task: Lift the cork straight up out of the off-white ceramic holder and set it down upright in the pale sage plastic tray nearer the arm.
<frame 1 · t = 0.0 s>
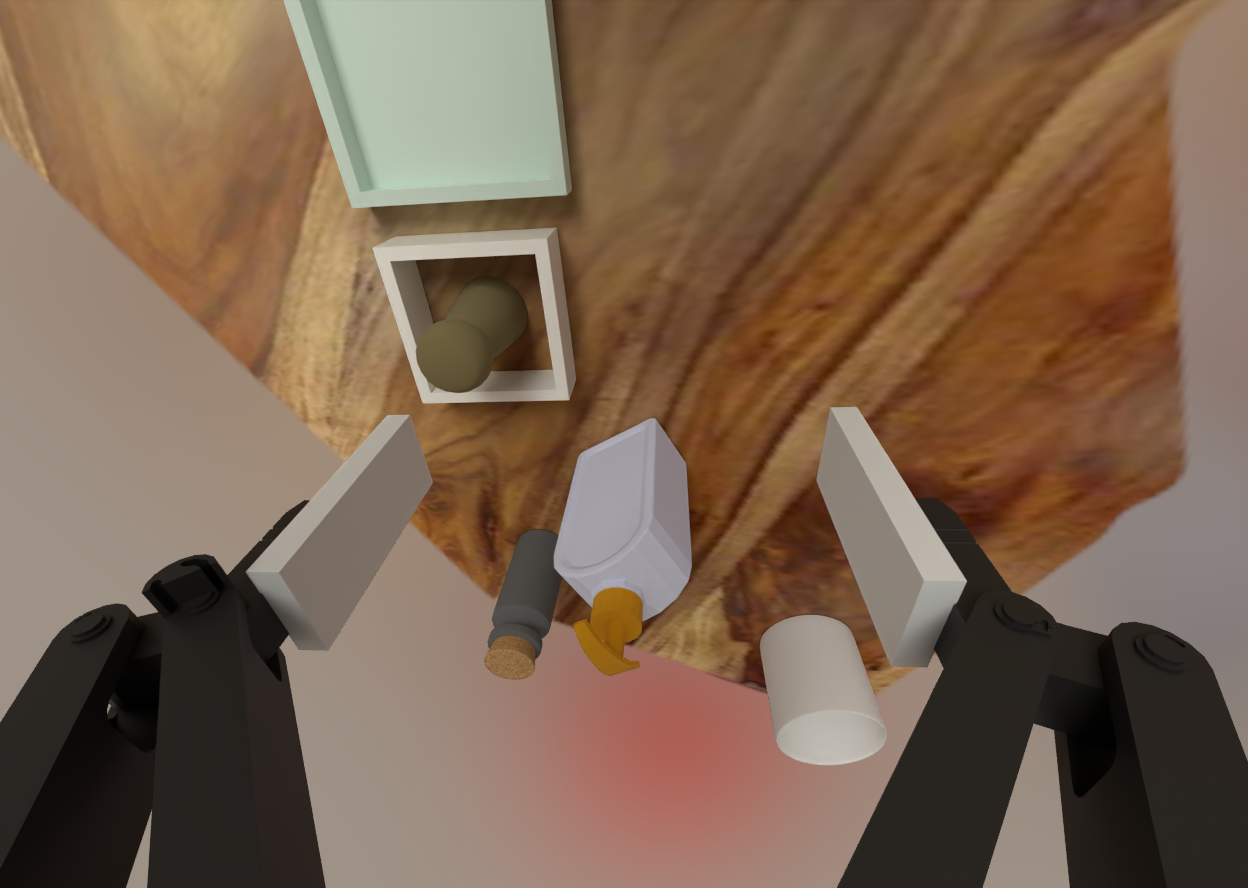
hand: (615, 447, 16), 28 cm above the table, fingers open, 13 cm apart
tray: (440, 65, 34), on the table
holder: (492, 312, 43), on the table
cork: (493, 311, 43), resting in holder
bottle: (542, 545, 59), on the table
soap bottle: (630, 453, 51), on the table
cup: (805, 641, 65), on the table
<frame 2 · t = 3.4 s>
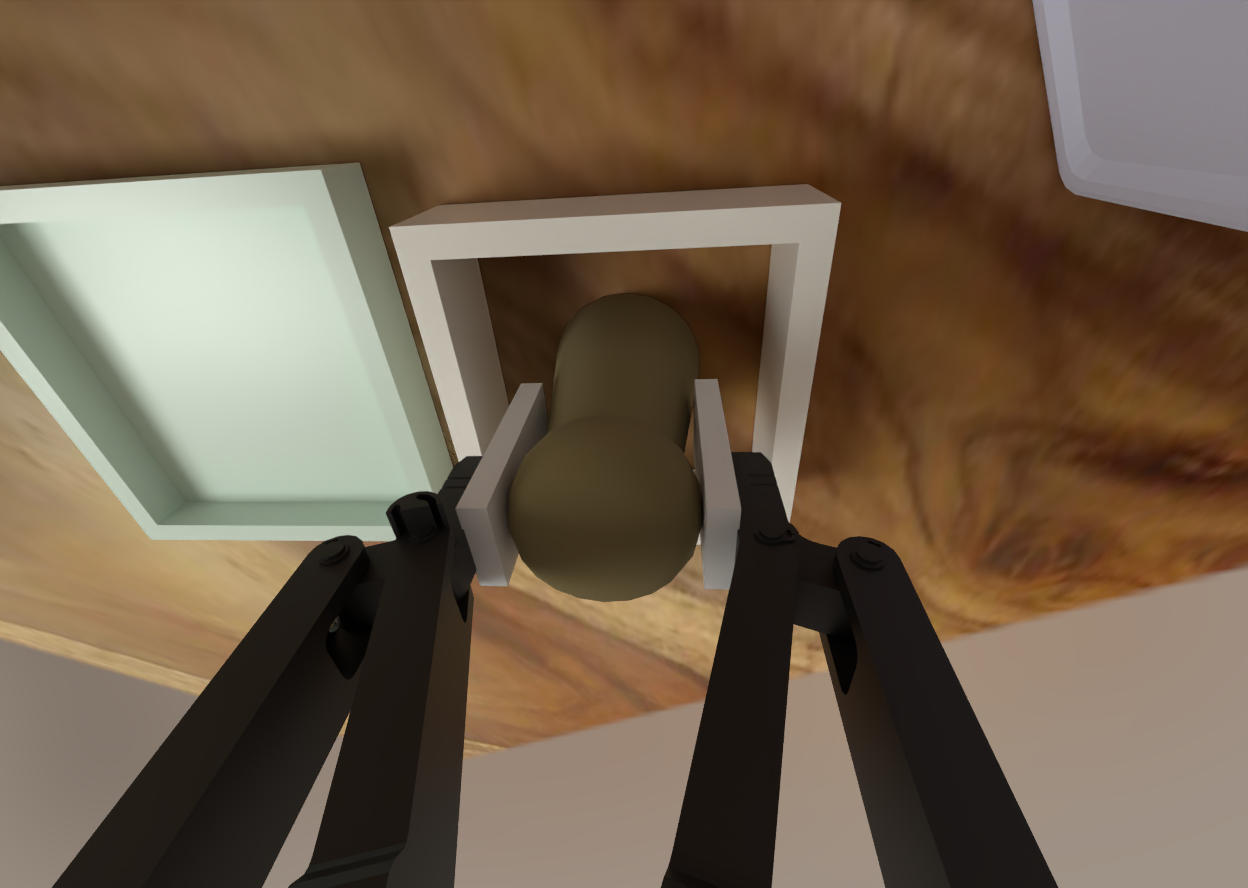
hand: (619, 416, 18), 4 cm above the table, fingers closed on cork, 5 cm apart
tray: (254, 374, 23), on the table
holder: (627, 364, 21), on the table
cork: (628, 362, 21), resting in holder, touching gripper
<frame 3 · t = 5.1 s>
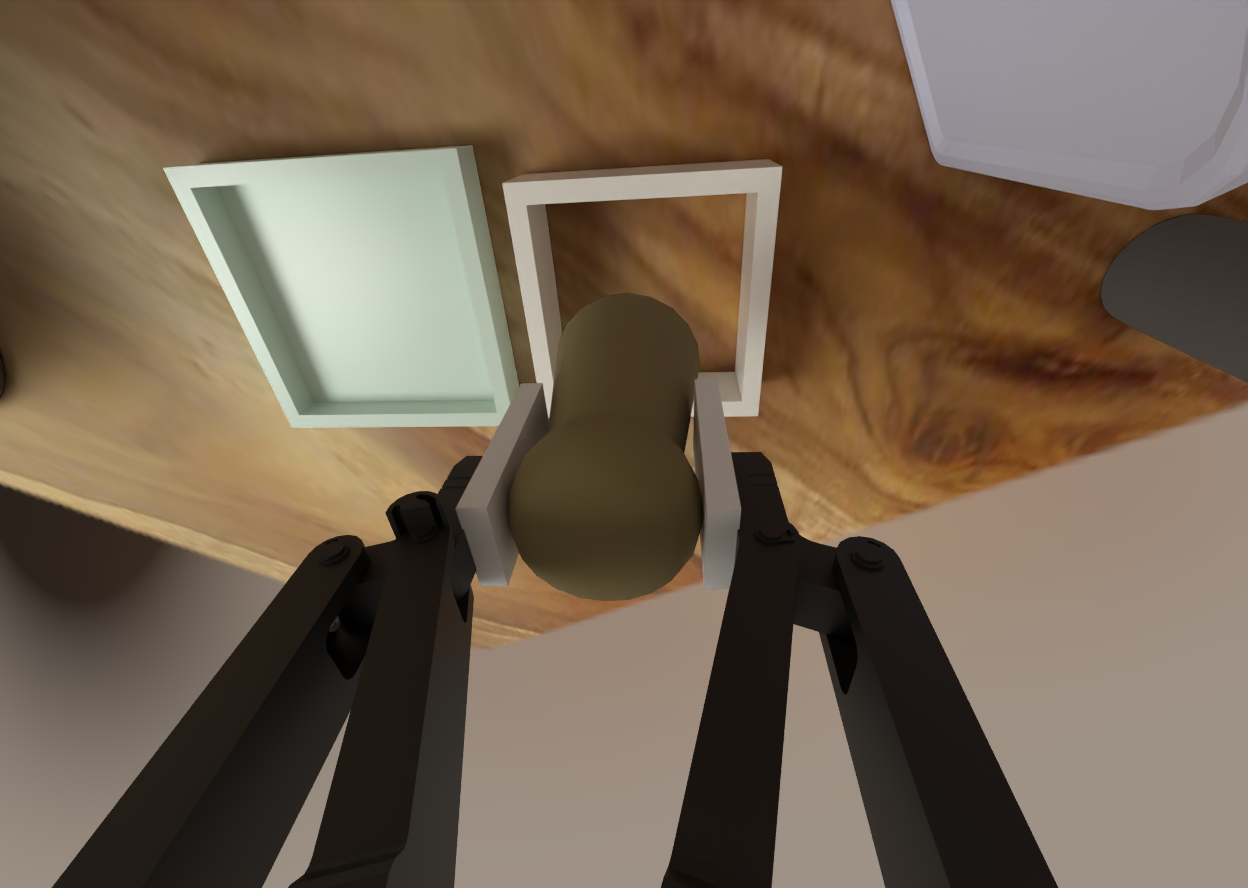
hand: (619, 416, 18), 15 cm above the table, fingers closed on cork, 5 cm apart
tray: (379, 299, 32), on the table
holder: (647, 289, 30), on the table
cork: (628, 362, 21), point 11 cm above the table, touching gripper
bottle: (1159, 270, 28), on the table
soap bottle: (969, 33, 23), on the table
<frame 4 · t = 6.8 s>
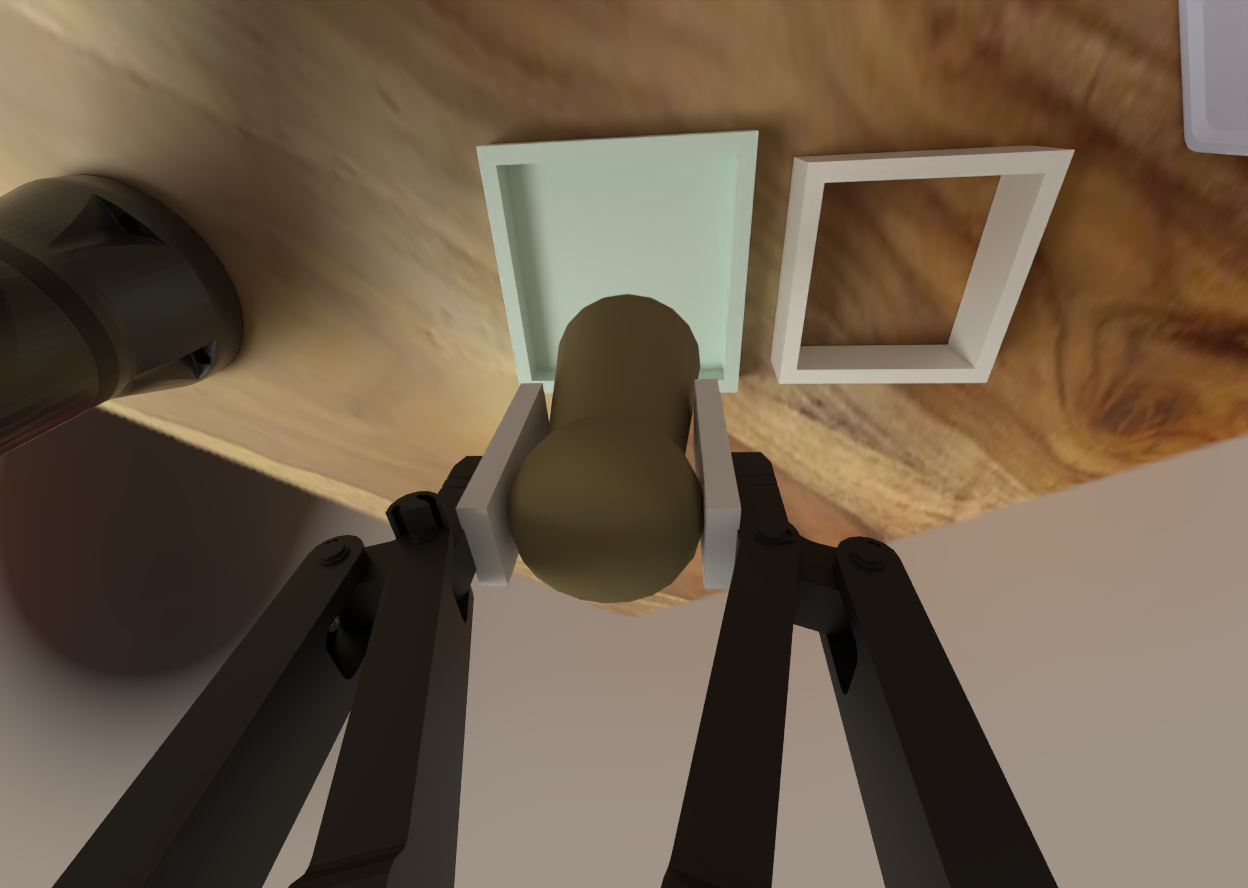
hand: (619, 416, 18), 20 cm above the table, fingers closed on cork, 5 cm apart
tray: (624, 272, 35), on the table
holder: (883, 266, 33), on the table
cork: (628, 363, 21), point 16 cm above the table, touching gripper
soap bottle: (1242, 32, 26), on the table
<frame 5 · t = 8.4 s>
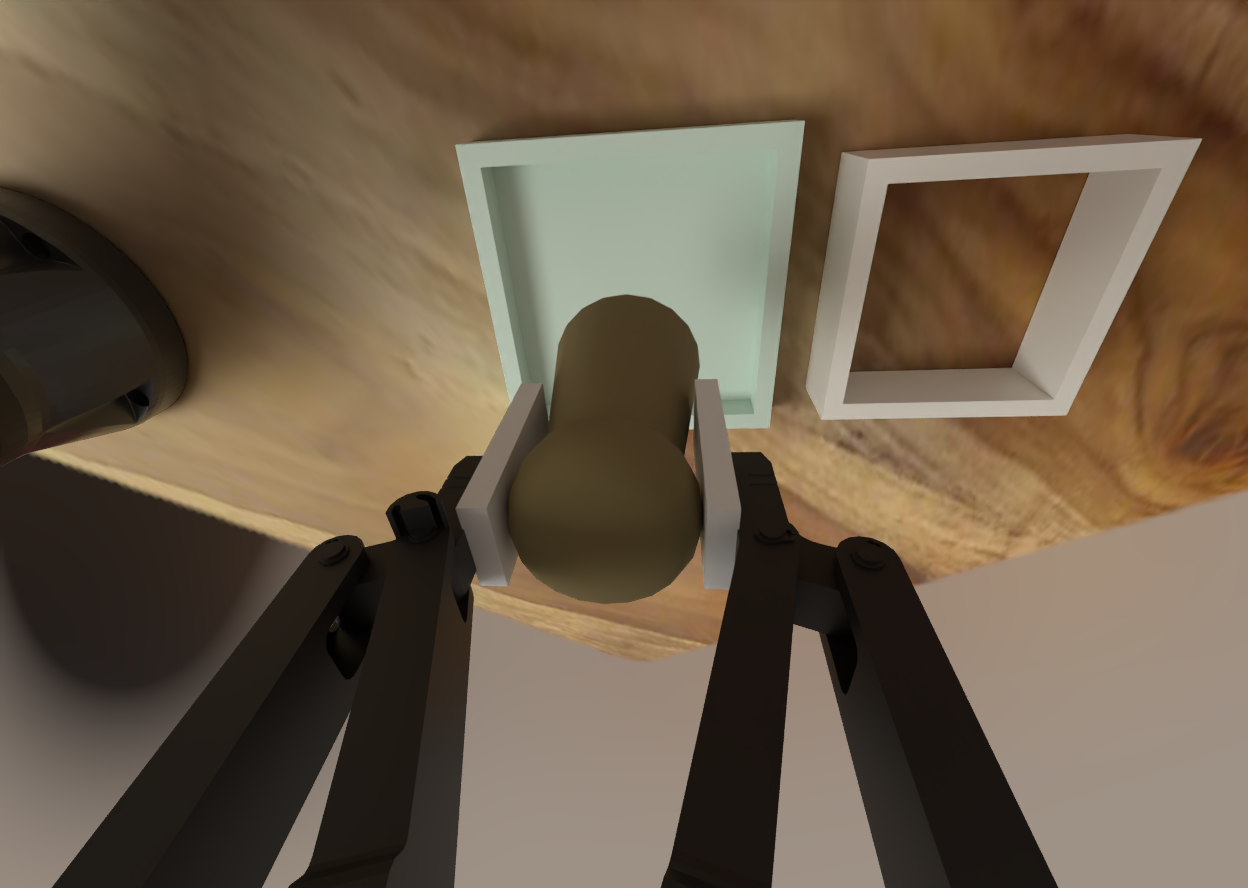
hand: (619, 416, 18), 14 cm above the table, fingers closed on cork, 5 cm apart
tray: (635, 292, 29), on the table
holder: (942, 279, 28), on the table
cork: (628, 363, 21), point 10 cm above the table, touching gripper
when the fingers open (6 cm above the table, at t = 10.1 s): cork drops 1 cm, resting on tray.
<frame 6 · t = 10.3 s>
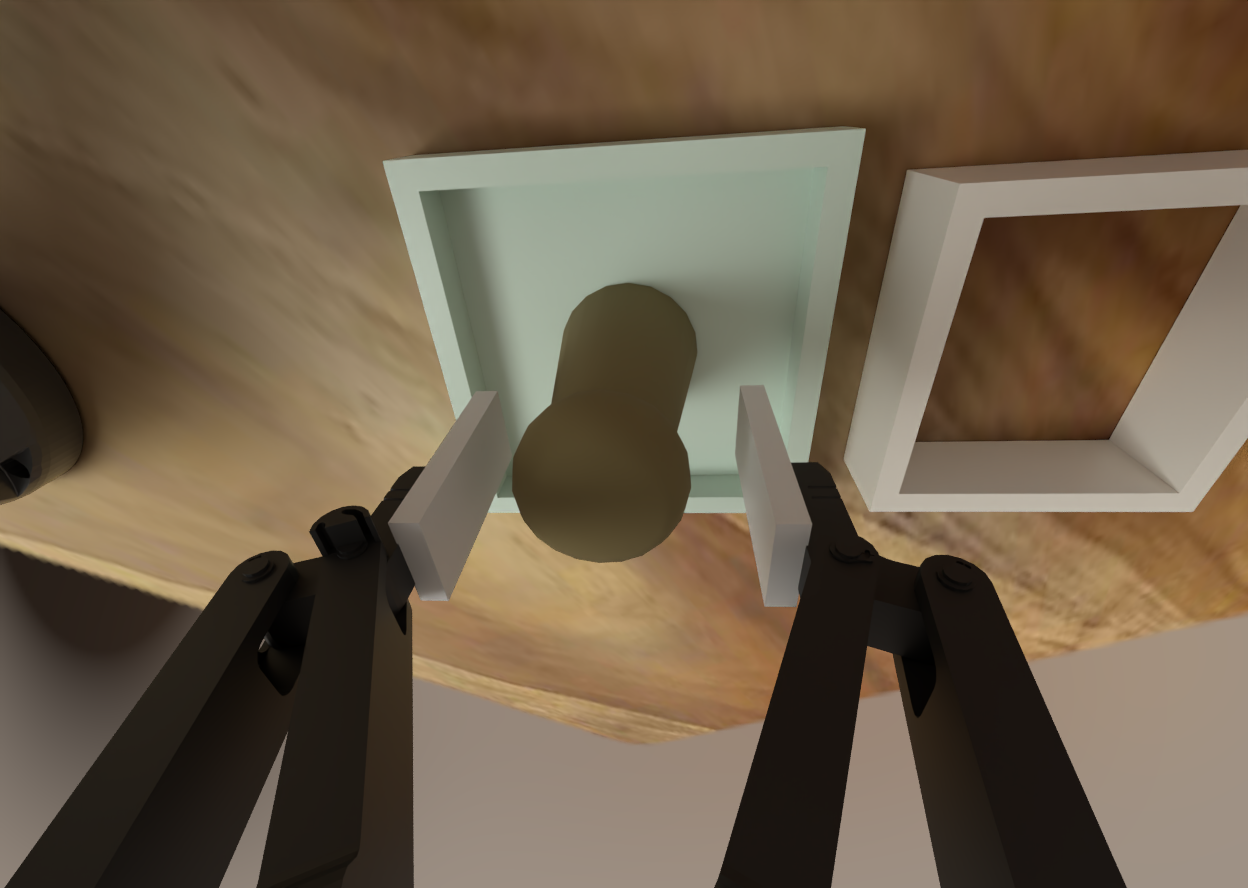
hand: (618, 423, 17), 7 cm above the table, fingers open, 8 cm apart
tray: (630, 345, 23), on the table
holder: (1029, 333, 21), on the table
cork: (629, 349, 23), resting on tray
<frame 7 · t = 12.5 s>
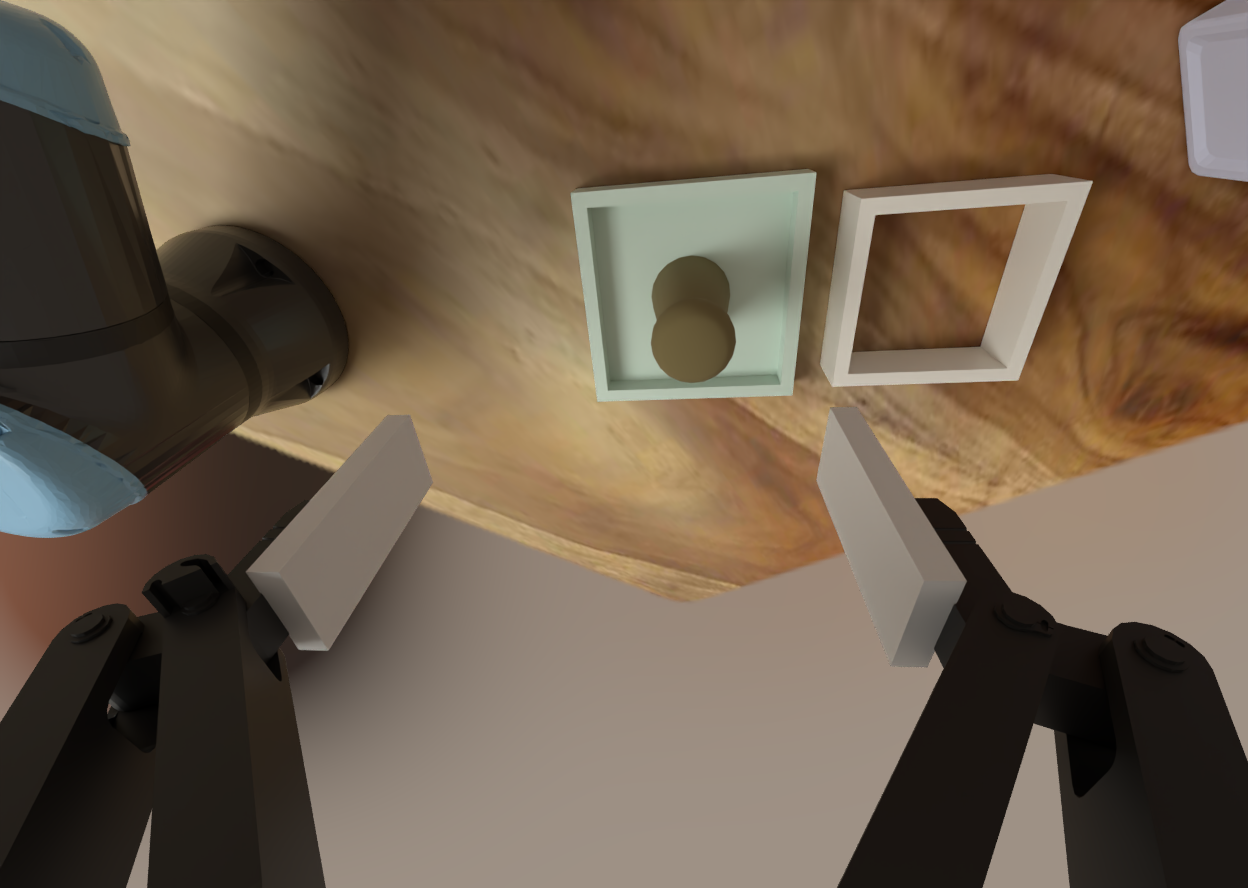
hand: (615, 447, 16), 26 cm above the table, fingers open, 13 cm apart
tray: (690, 293, 39), on the table
holder: (922, 280, 37), on the table
cork: (690, 295, 39), resting on tray
soap bottle: (1236, 74, 30), on the table
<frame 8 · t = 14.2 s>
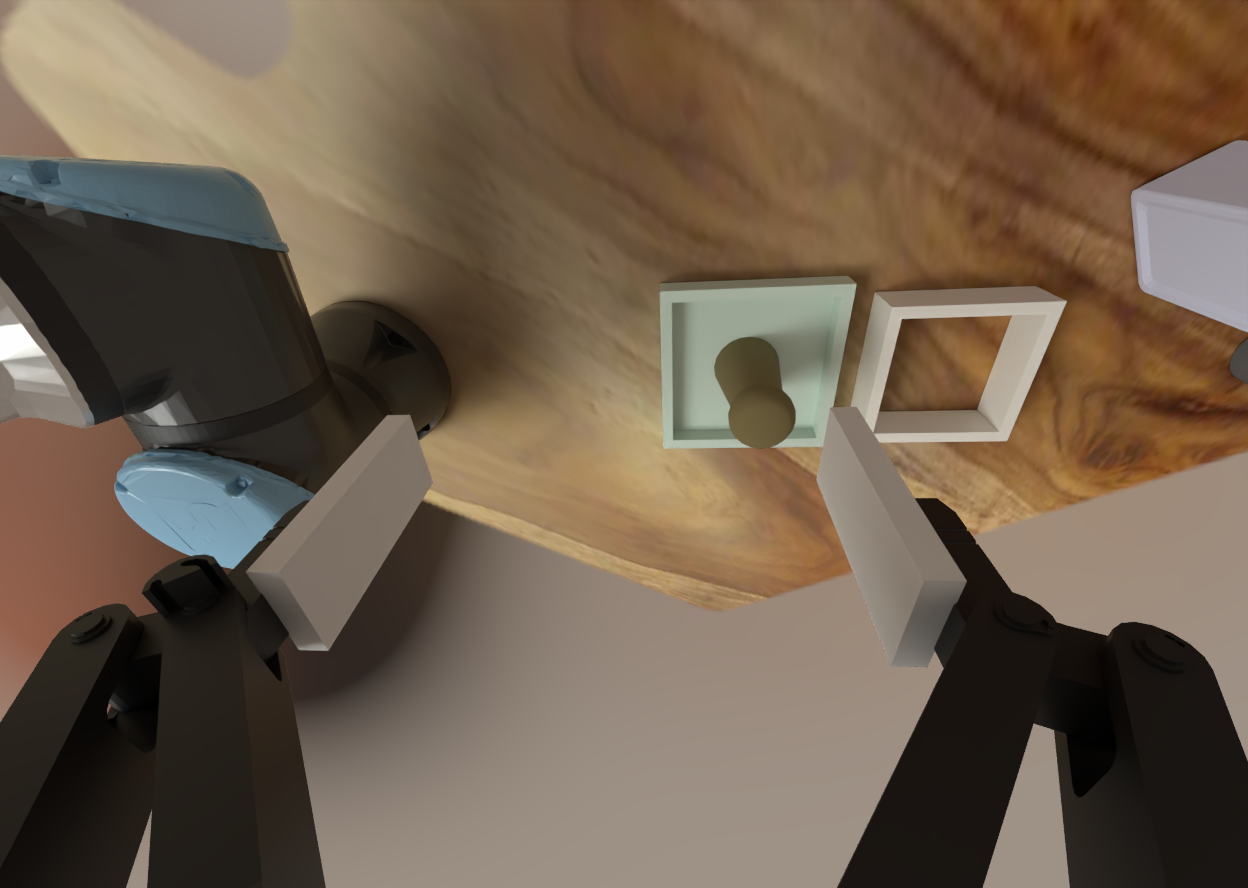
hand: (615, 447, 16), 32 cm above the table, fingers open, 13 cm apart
tray: (745, 364, 48), on the table
holder: (933, 359, 47), on the table
cork: (746, 366, 48), resting on tray
soap bottle: (1173, 222, 39), on the table
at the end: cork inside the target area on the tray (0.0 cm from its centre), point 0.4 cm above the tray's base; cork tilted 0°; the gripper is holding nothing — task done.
